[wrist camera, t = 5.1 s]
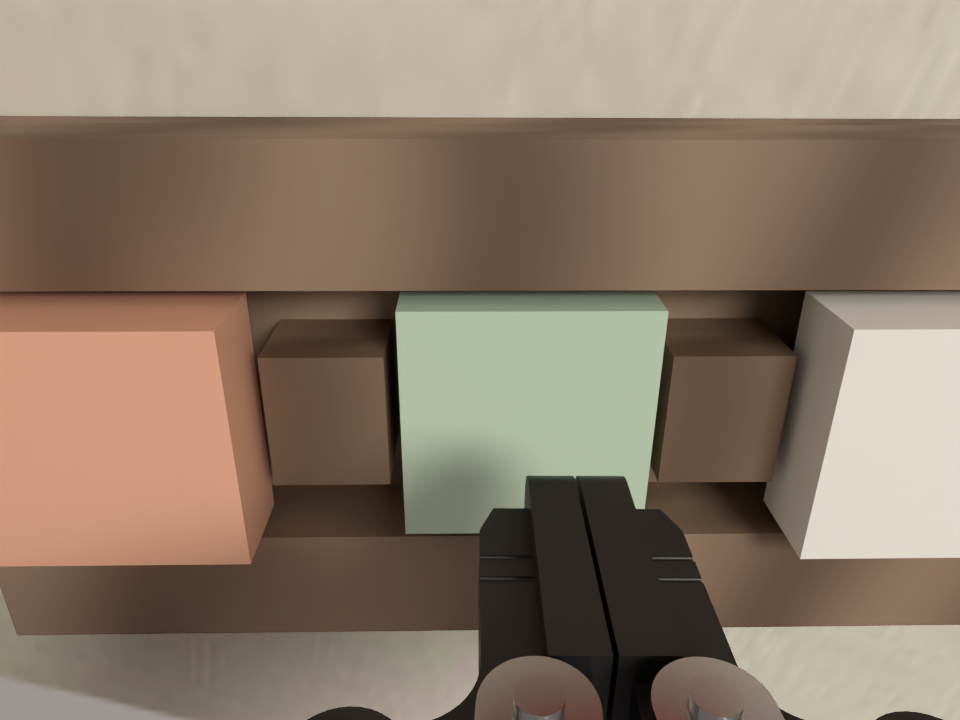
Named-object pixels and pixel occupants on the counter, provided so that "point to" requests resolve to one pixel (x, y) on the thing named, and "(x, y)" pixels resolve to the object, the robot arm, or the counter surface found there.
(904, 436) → the ivory key
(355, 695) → the counter surface
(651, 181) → the key board
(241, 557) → the terracotta key
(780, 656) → the counter surface
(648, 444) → the sage green key
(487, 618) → the robot arm
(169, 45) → the counter surface
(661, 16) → the counter surface
